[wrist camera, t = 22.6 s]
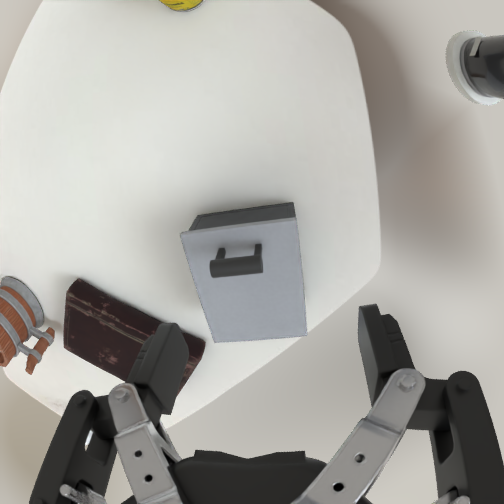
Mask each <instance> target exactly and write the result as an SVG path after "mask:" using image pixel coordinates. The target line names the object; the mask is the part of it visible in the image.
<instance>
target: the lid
mask: <svg viewBox="0 0 504 504" xmlns="http://www.w3.org/2000/svg"><path fill="white" fill-rule="evenodd" d="M180 237H181V240H182V244H183V247H184V250H185V254H186V257H187V260H188V264H189V267H190V270H191V273H192V277H193V280H194V283H195V286H196V289H197V292H198V295H199V298H200V301H201V304H202V307H203V310H204V313H205V316H206V319H207V322H208V325H209V328H210V331H211V334H212V337H213V340H214V342H215V343H217V342H237V341H253V340H267V339H279V338H290V337H300V336H307V323H306V310H305V298H304V287H303V276H302V266H301V256H300V246H299V237H298V228H297V219H296V217H293V218H285V219H277V220H269V221H261V222H253V223H245V224H237V225H230V226H222V227H215V228H207V229H200V230H193V231H186V232H182V233H181V234H180Z"/></svg>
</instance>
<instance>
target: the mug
mask: <svg viewBox="0 0 504 504" xmlns="http://www.w3.org/2000/svg"><path fill="white" fill-rule="evenodd" d="M43 322H44V317H43V312H42V309H41V306H40V304H39V302H38V300H37V299H36V297H35V296H34V294H33V293H32V292H31V291H30V290H29V289H28V287H26V286H25V285H24V284H23V283H22V282H20V281H19V280H17V279H14V278H10V277H6V278H4V279H3V280H2V281H1V284H0V366H3V367H6V366H7V365H8V363H9V362H10V361H11V359H12V358H13V357H16V356H17V355H18V354H19V352H20V351H21V352H22V353H24V354H25V355H27V356H28V357H27V367H26V369H25V370H26V372H27V373H29V374H30V375H32V373H33V370H34V367H35V365H36V364H37V363H39V362H40V361H41V359H42V355H43V353H44V352H45V351H46V349H47V347H48V346H50V345H51V344H52V343H53V341H54V340H53V339H54V334H55V331H54V330H53V329H52V328H50V327H49V328H48V329H47V330H46V332H41V331H40V330H38V329H36V328H39V327H41V326H42V325H43ZM32 335H33V336H34V337H36V338H38V339H39V341H38V342H37V344H36V345H35V346H34V348H33V349H30V348H28V347H27V346H25V345H24V344H23V342H26V341H28V340H29V338H30V337H31V336H32Z"/></svg>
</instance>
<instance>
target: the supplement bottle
mask: <svg viewBox="0 0 504 504" xmlns="http://www.w3.org/2000/svg"><path fill="white" fill-rule="evenodd" d="M159 1H161V2H162V3H163V4H165V5H166V6H168V7H169V8H171V9H172V10H175V11H179V12H185V11H190V10H193V9H195V8H197V7H198V6H200V5H201V4H202V3H203V2H204V1H205V0H159Z"/></svg>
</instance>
